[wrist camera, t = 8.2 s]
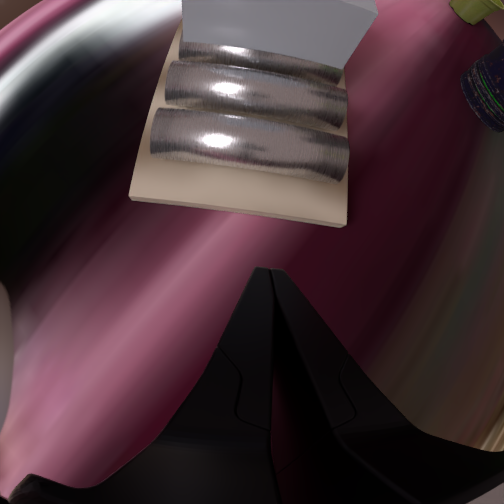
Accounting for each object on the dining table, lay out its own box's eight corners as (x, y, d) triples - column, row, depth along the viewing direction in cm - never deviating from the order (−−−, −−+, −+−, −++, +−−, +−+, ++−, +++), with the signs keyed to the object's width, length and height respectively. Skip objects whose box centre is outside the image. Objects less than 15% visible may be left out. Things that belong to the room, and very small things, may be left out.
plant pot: (443, -9, 34) (464, -34, 25) (479, 21, 35) (502, -1, 26) (439, 5, 32) (463, -23, 24) (480, 39, 33) (506, 15, 24)
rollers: (329, 190, 23) (349, 174, 19) (154, 165, 21) (146, 144, 18) (328, 37, 25) (340, 14, 22) (198, 14, 23) (199, -12, 20)
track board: (340, 227, 24) (346, 224, 23) (132, 200, 22) (128, 195, 21) (337, 39, 27) (341, 32, 26) (187, 14, 25) (187, 6, 23)
